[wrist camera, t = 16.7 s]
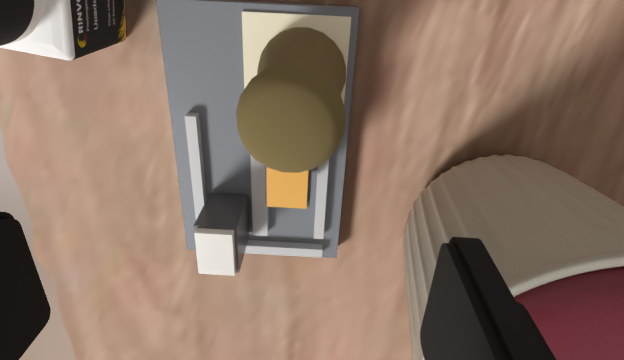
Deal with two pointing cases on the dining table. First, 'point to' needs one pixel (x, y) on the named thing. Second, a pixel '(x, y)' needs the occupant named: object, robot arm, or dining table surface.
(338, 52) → the cork
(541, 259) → the canister
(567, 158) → the dining table surface
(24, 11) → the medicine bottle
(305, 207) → the block
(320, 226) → the panel
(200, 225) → the toggle plain
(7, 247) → the robot arm
